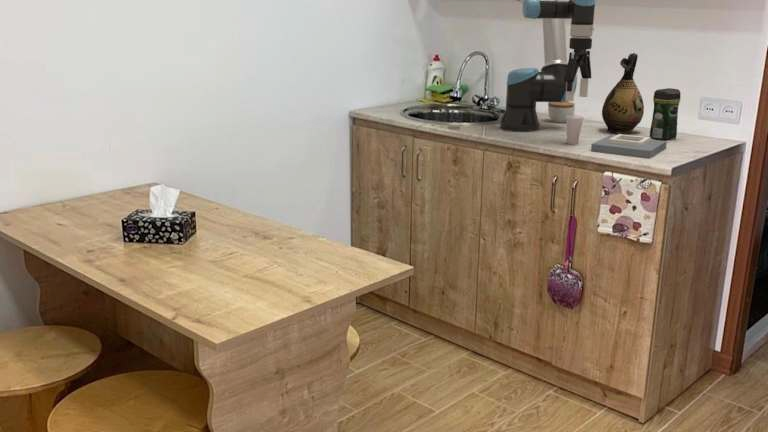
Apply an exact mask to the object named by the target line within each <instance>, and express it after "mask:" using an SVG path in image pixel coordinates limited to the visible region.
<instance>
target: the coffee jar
mask: <svg viewBox="0 0 768 432" xmlns="http://www.w3.org/2000/svg"><path fill="white" fill-rule="evenodd" d="M653 93H654V94H653V98H652V101H653V111H652V118H651V125H650V131H649V138H650V139H652V140H660V141H669V140H673V139H676V138H677V136H678V135H677V134H678V113H679V105H680V103H681V95H682V94H681V91H680V89H678V88H677V89H676V88H672V87H671V88H670V87H668V88H659V89H656V90H655V91H654V92H653Z"/></svg>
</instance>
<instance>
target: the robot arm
mask: <svg viewBox="0 0 768 432" xmlns="http://www.w3.org/2000/svg"><path fill="white" fill-rule="evenodd" d="M516 1H518V2H520V3H521V4H522V15H523V18H525V19H531V20H536V19H538V20H540V19H542V30H543V31H542V32H543V34H542V35H543V54H544V56H543V57H544V65H542V67H541V68H540V71H539V69H538V68H537V67H525V68H524V67H523V68H517V69H513V70H510V71H509V72H508V73H507V79H506V80H507V81H506V96H505V97H506V98H505V99H506V100H505V101H506V102H505V110H504V112H503V115H502V117H501V120H500V126H499V129H502V130H505V131H510V132H535V131H536V132H537V131H539V129H540V121H539V118H538V113H537V103H549V102H574V98H575V93H576V89H577V86H578V75H577V74H578V70H579V72H580V74H581V78H580V82H579V95H578V97H581V98H588V94H589V93H588V92H589V91H588V89H589V79H592V66H591V51H590V50H591V49H592V45H593V39H592V37H593V32H594V31H595V28H594V20H595V19H594V18H595V9H596V7H595V6H596V3H597V1H596V0H516ZM566 19H567V20H568V19H569V20H570V21H571V22H570V30H569V31H570V32H569V36H570V38H569V45H568V47H569V49H571V50H573V51H572V52H569V54H568V58H567V36H566V35H567V33H566Z"/></svg>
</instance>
